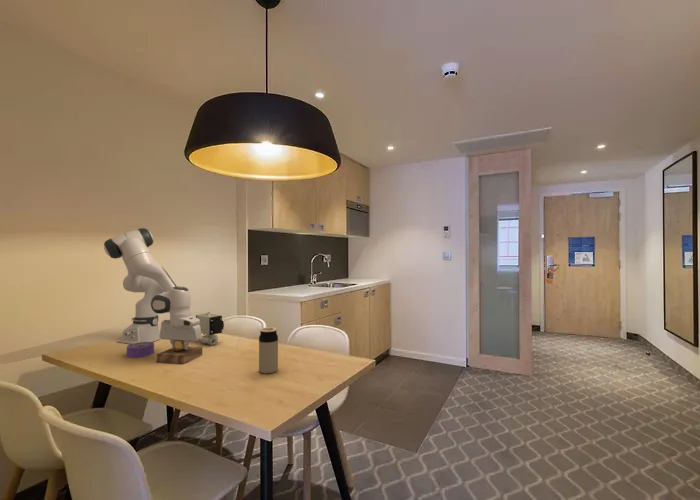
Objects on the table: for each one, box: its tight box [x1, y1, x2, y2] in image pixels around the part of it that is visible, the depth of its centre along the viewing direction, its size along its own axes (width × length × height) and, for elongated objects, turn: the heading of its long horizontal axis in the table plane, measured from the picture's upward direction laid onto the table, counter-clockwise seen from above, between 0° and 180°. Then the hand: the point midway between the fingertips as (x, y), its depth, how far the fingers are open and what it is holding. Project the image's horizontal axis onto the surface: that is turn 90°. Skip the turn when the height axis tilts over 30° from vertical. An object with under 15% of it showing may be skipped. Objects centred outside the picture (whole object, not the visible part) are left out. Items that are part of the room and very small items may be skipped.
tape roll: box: [126, 341, 155, 359], centre depth 170 cm, size 12×12×5 cm
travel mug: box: [258, 326, 279, 375], centre depth 146 cm, size 8×8×18 cm
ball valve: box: [195, 311, 225, 346], centre depth 190 cm, size 18×8×18 cm, turn 56°
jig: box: [156, 345, 203, 365], centre depth 163 cm, size 14×14×4 cm
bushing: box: [175, 340, 186, 352], centre depth 163 cm, size 4×4×7 cm
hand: (180, 349), depth 163 cm, fingers closed on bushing, 4 cm apart
